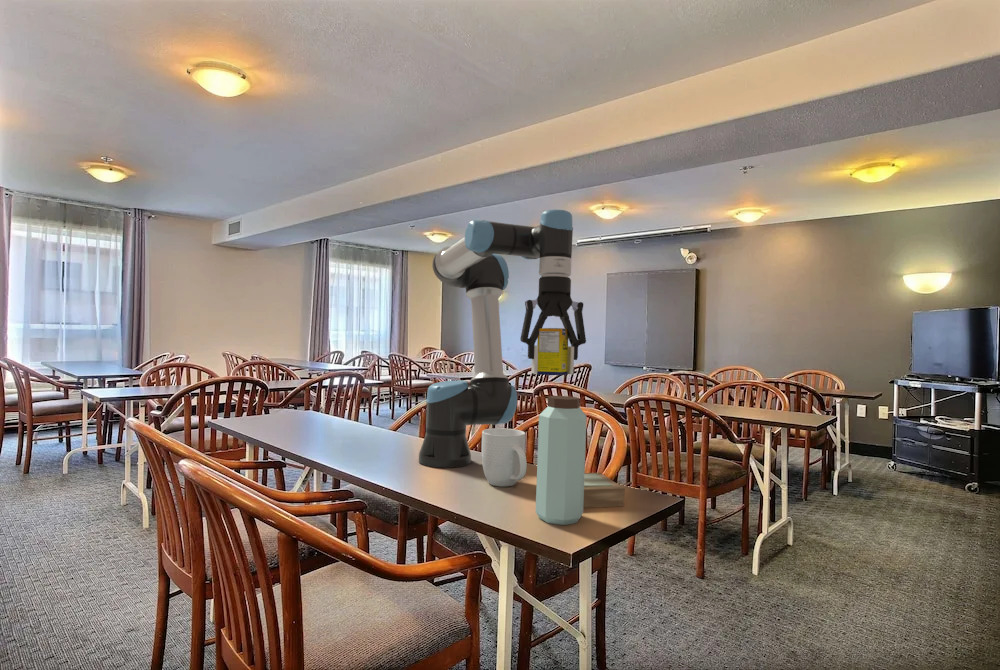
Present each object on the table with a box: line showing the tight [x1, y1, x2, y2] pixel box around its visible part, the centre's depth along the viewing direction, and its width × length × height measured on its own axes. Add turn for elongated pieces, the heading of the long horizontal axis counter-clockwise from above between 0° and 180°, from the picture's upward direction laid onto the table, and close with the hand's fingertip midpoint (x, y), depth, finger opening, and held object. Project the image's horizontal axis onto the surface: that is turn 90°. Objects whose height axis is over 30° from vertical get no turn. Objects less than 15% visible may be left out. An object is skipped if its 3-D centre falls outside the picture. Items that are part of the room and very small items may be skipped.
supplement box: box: [536, 327, 569, 376], centre depth 130 cm, size 6×6×11 cm
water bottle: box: [535, 395, 588, 526], centre depth 115 cm, size 10×10×25 cm
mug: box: [481, 427, 528, 488], centre depth 138 cm, size 15×11×13 cm
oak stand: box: [583, 472, 625, 509], centre depth 130 cm, size 14×14×4 cm
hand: (552, 373), depth 130 cm, fingers closed on supplement box, 8 cm apart
